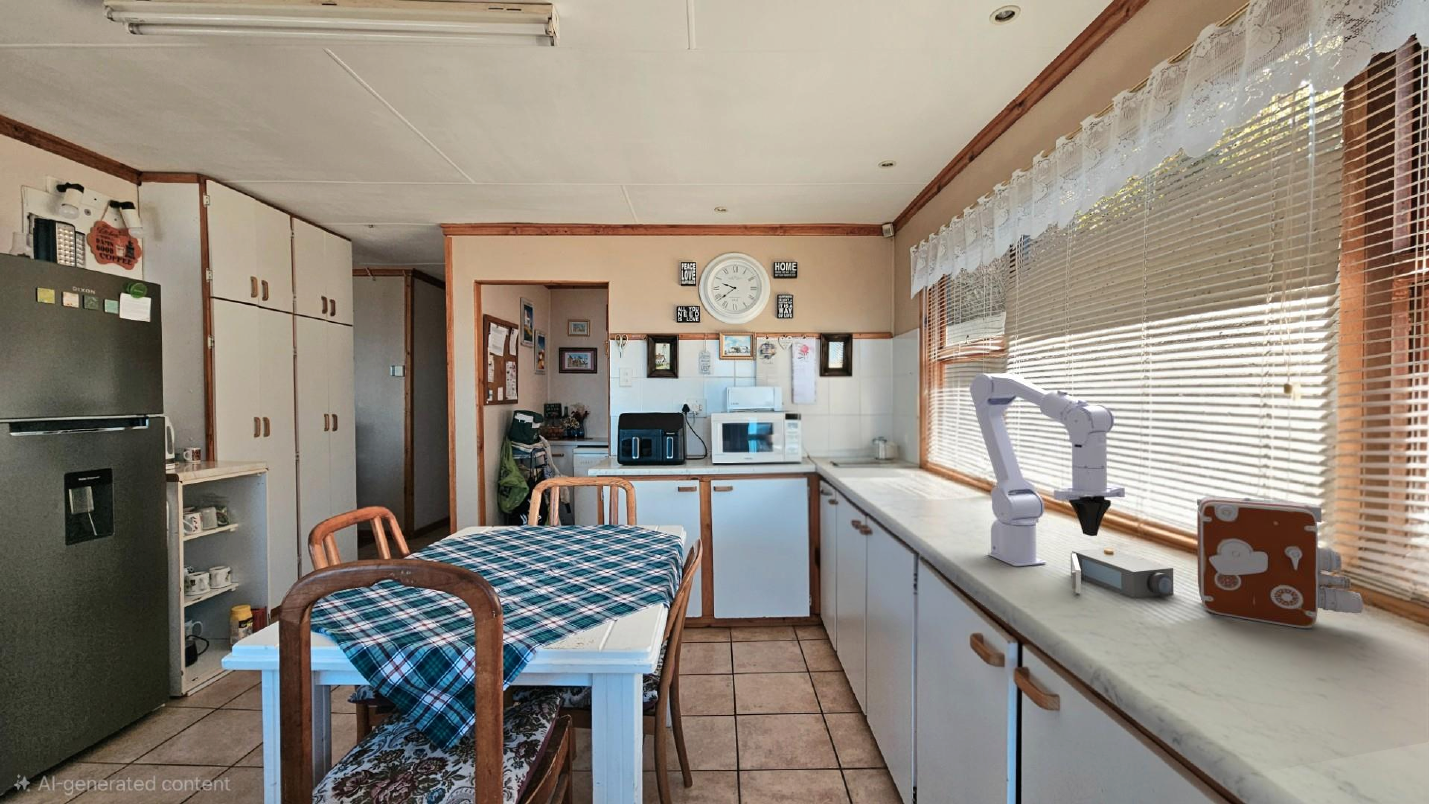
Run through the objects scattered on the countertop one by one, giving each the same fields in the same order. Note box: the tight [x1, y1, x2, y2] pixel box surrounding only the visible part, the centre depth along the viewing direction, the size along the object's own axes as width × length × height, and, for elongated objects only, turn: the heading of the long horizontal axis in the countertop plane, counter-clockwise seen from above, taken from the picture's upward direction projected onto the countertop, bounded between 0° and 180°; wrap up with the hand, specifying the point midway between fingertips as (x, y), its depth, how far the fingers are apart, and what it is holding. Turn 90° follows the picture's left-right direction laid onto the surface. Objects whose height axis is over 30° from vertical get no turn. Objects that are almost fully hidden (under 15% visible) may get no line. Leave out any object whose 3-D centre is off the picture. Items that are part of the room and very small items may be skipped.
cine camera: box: [1196, 496, 1364, 629], centre depth 93 cm, size 9×19×20 cm, turn 53°
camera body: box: [1071, 547, 1174, 599], centre depth 110 cm, size 16×9×6 cm, turn 11°
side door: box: [1070, 552, 1082, 595], centre depth 111 cm, size 12×1×5 cm, turn 151°
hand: (1089, 534), depth 110 cm, fingers closed
